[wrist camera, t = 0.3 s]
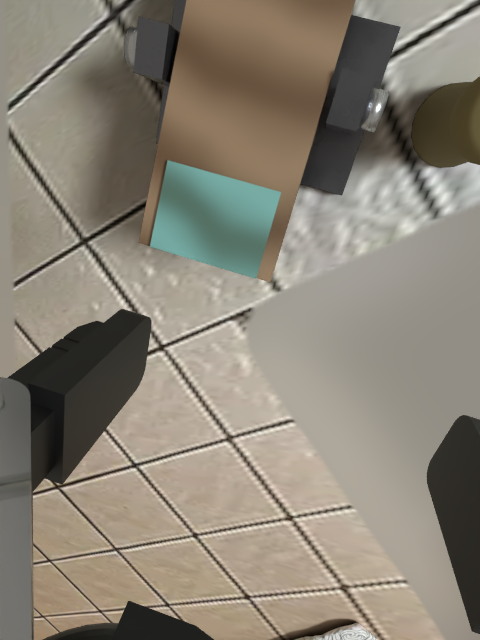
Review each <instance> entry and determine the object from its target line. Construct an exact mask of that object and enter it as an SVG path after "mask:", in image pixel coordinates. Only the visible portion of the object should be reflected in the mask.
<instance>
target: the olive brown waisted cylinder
mask: <svg viewBox="0 0 480 640" xmlns="http://www.w3.org/2000/svg"><path fill="white" fill-rule="evenodd" d="M411 138H412V142H413V147H414V149H415V151H416V152H417V154H418V155H419V157H420V158H421V159H422V160H424V161H425V162H426V163H428V164H429V165H433V166H436V167H440V168H443V167H454V166H457V165H460V164H463V163H466V162H470V163H474V164H478V165H480V77H478V78H477V79H476V80H475V81H473V82H463V83H454V84H449V85H447V86H445V87H442V88H440V89H438V90H437V91H435V92H434V93H433V94H432V95H430V96H429V97H428V98H427V99H426V100H425V101H424V103H423V104H422V105H421V107H420V108H419V109H418V111H417V113H416V116H415V118H414V121H413V123H412V134H411Z"/></svg>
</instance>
